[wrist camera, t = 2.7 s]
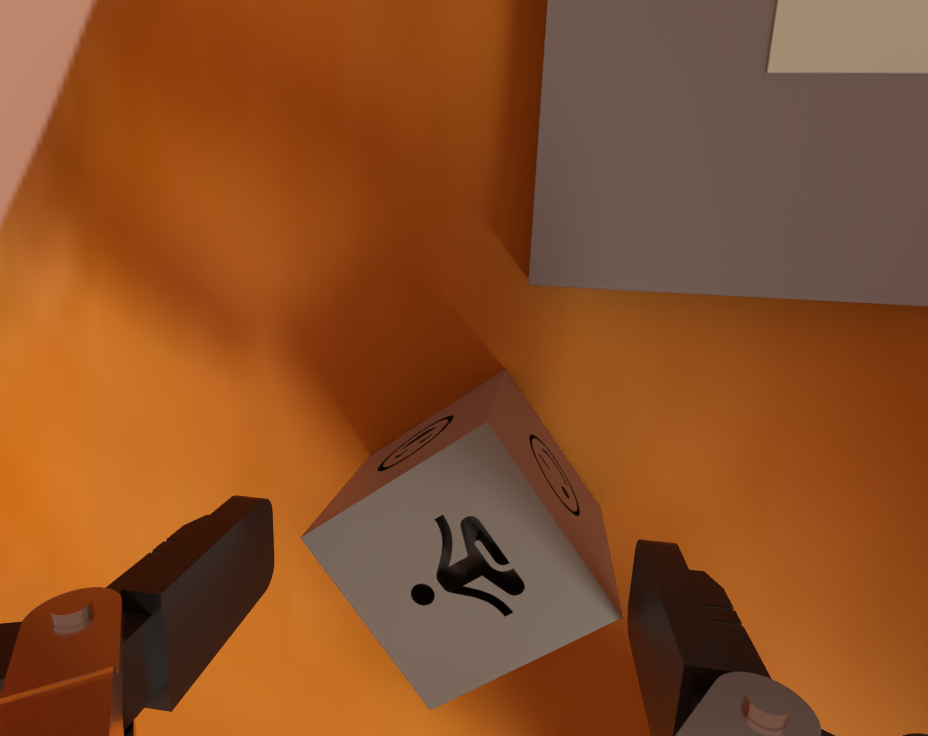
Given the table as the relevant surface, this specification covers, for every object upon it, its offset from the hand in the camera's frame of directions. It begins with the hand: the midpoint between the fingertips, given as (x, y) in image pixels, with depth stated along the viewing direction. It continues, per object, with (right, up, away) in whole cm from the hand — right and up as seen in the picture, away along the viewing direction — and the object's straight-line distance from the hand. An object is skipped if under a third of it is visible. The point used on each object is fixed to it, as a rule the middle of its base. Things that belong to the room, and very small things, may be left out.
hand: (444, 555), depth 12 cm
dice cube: (+1, +1, +5) cm, 5 cm away
